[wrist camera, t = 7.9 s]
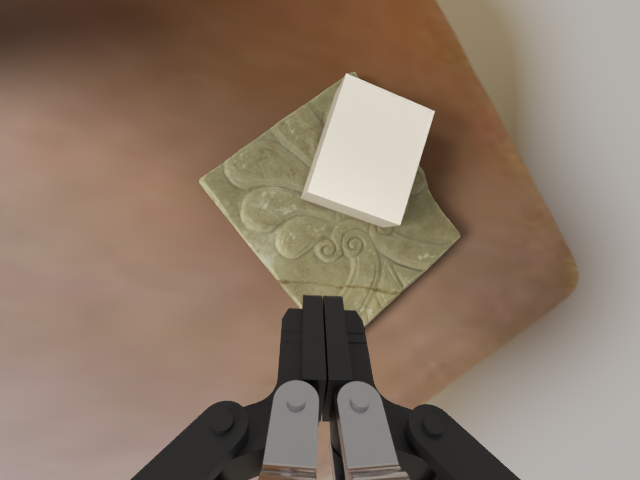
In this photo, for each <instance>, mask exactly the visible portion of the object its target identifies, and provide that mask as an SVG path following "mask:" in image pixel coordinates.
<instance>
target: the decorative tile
mask: <svg viewBox="0 0 640 480" xmlns="http://www.w3.org/2000/svg"><path fill="white" fill-rule="evenodd" d="M349 75H352V76H354V77H356V78H358V76H357V74H356V73H355V72H351V73H350V74H349ZM343 78H344V77H343ZM343 78H342V79H341V80H339V81H338V82H336V83H335V84H333V85H332V86H330V87H329V88H328V89H326V90H325V91H323V92H322V93H320V94H319V95H318V96H316V97H315V98H314V99H312V100H311V101H309V102H308V103H306V104H304V105H303V106H301V107H300V108H298V109H297V110H295V111H294V112H292V113H291V114H289V115H288V116H286V117H285V118H283V119H282V120H280V121H279V122H278V123H276V124H275V125H274V126H273V127H271V128H270V129H269V130H267V131H266V132H265V133H263V134H262V135H261V136H259V137H258V138H257V139H255V140H254V141H252V142H250V143H249V144H247V145H246V146H245V147H243V148H242V149H240V150H239V151H238V152H236V153H235V154H234V155H233V156H231V157H230V158H229V159H227V160H226V161H225V162H223V163H222V164H221V165H219V166H218V167H216V168H215V169H213V170H211V171H210V172H209V173H208V174H206V175H204V176H203V177H202V178H201V179H200V181H199V183H200V184H201V186H202V187H203V189H204V190H205V191H206V192H207V194H208V195H209V196H210V197H211V199H212V200H213V201H214V202H215V204H216V205H217V206H218V207H219V209H220V210H221V211H222V212H223V214H224V215H225V216H226V217H227V219H228V220H229V221H230V222H231V224H232V225H233V226H234V227H235V229H236V230H237V231H238V232H239V234H240V235H241V236H242V238H243V239H244V240H245V241H246V242H247V244H248V245H249V246H250V247H251V249H252V250H253V251H254V252H255V254H256V255H257V256H258V257H259V259H260V260H261V261H262V262H263V264H264V265H265V266H266V267H267V268H268V270H269V271H270V272H271V273H272V275H273V276H274V277H275V278H276V279H277V281H278V282H279V284H280V285H281V286H282V287H283V289H284V290H285V291H286V292H287V293H288V295H289V296H290V297H291V298H292V299H293V301H294V302H295V303H296V304H297V306H298V307H299V308H300V309H302V301H303V295H321V296H322V299H323V295H324V296H342V297H343V304H344V310H356V312H357V313H358V314H359V316H360V317H361V319H362V320H363V324H364V327H365V326H366V325H368V324H369V323H370V322H371V321H372V320H373V319H374V318H375V317H376V316H377V315H378V314H379V313H380V312H381V311H382V310H383V309H384V308H386V307H387V306H388V305H389V304H390V303H391V302H392V301H393V300H394V299H396V298H397V297H398V296H399V295H400V293H401V292H403V291H404V290H405V289H406V288H407V287H408V286H410V285H411V284H412V283H413V282H414V281H415V280H416V279H418V278H419V277H420V276H421V275H422V274H423V273H424V272H425V271H426V270H427V269H428V268H429V267H431V266H432V265H433V264H434V263H435V262H436V261H437V260H438V259H439V258H440V257H441V256H442V255H443V254H444V253H445V252H446V251H447V250H448V249H449V248H450V247H451V246H452V245H453V244H454V243H455V242H456V241H457V240H458V239H459V238H460V233H459V232H458V231H457V229H456V228H455V227H454V225H453V224H452V223H451V222H450V220H449V219H448V218H447V217H446V216H445V215H444V213H443V212H442V211H441V210H440V208H439V206H438V204H437V203H436V201H435V200H434V199H433V197H432V195H431V193H430V191H429V190H428V184H427V181H426V179H425V173H424V171H423V169H422V168H421V167H420V166H419V165H418V169H417V172H416V175H415V179H414V182H413V185H412V188H411V192H410V195H409V198H408V202H407V205H406V208H405V211H404V215H403V218H402V221H401V225H399V226H392V227H385V228H381V227H379V226H376V225H373V224H370V223H367V222H365V221H362V220H359V219H356V218H353V217H350V216H348V215H345V214H342V213H339V212H336V211H333V210H331V209H328V208H325V207H322V206H319V205H316V204H314V203H311V202H308V201H305V200H302V199H300V198H301V195H302V192H303V189H304V186H305V183H306V180H307V177H308V174H309V171H310V168H311V165H312V162H313V159H314V156H315V153H316V150H317V147H318V144H319V141H320V138H321V135H322V132H323V129H324V125H325V122H326V119H327V116H328V113H329V110H330V107H331V104H332V101H333V98H334V95H335V93H336V91H337V89H338V87H339V86H340V84H341V82H342V80H343Z"/></svg>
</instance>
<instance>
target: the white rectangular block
mask: <svg viewBox="0 0 640 480" xmlns="http://www.w3.org/2000/svg"><path fill="white" fill-rule="evenodd" d="M434 113H435V111H433V110H431V109H429V108H426V107H424V106H422V105H419V104H417V103H415V102H412V101H410V100H408V99H405V98H403V97H401V96H398V95H396V94H394V93H391V92H389V91H387V90H384V89H382V88H380V87H377V86H375V85H373V84H370V83H368V82H366V81H363V80H361V79H359V78H356V77H354V76H352V75H349V74H347V73H346V74H345V76H344V78H343V80H342V82H341V84H340V86H339V87H338V89H337V91H336V93H335V95H334V98H333V101H332V104H331V107H330V110H329V113H328V116H327V119H326V122H325V125H324V129H323V132H322V135H321V138H320V141H319V144H318V147H317V150H316V153H315V156H314V159H313V162H312V165H311V168H310V171H309V174H308V177H307V180H306V183H305V186H304V189H303V192H302V195H301V198H300V199H302V200H305V201H308V202H311V203H314V204H316V205H319V206H322V207H325V208H328V209H331V210H333V211H336V212H339V213H342V214H345V215H348V216H350V217H353V218H356V219H359V220H362V221H365V222H367V223H370V224H373V225H376V226H379V227H381V228H385V227H392V226H399V225H401V221H402V218H403V215H404V211H405V208H406V205H407V202H408V198H409V195H410V192H411V188H412V185H413V182H414V179H415V175H416V172H417V169H418V165H419V162H420V159H421V156H422V152H423V149H424V146H425V142H426V139H427V136H428V133H429V129H430V126H431V123H432V119H433V116H434Z"/></svg>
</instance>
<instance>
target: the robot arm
mask: <svg viewBox="0 0 640 480" xmlns="http://www.w3.org/2000/svg"><path fill="white" fill-rule="evenodd" d="M321 415H322V421H330V440H329V450H330V459H331V467H332V475H333V480H520V479H519V478H518V477H517V476H516V475H515V474H513V473H512V472H511V471H510V470H509V469H508V468H507V467H506V466H504V465H503V464H502V463H501V462H500V461H499V460H498V459H497V458H496V457H495V456H494V455H492V454H491V453H490V452H489V451H488V450H487V449H486V448H485V447H483V446H482V445H481V444H480V443H479V442H478V441H477V440H476V439H475V438H474V437H472V436H471V435H470V434H469V433H468V432H467V431H466V430H465V429H464V428H462V427H461V426H460V425H459V424H458V423H457V422H456V421H455V420H454V419H452V418H451V417H450V416H449V415H448V414H447V413H446V412H445V411H443V410H442V409H440V408H438V407H436V406H433V405H428V404H423V405H419V406H417V407H416V408H414V409H413V410H411V409H408V408H405V407H402V406H399V405H396V404H394V403H391V402H390V401H388V400H386V399H385V398H384V397H383V396H382V395H381V394H380V393H379V392H378V390H377V389H376V387H375V384H374V381H373V375H372V370H371V364H370V358H369V352H368V347H367V341H366V335H365V330H364V324H363V320H362V319H361V317H360V316H359V314H358V313H357V312H356V310H344V304H343V297H342V296H324V295H323V299H322V296H321V295H303V301H302V309H291V308H289V309H288V310H287V312H286V313H285V315H284V317H283V318H282V329H281V343H280V356H279V369H278V380H277V384H276V387H275V389H274V390H273V392H272V393H271V394H270V395H269V396H268V397H267V398H265V399H264V400H262V401H260V402H257V403H255V404H251V405H248V406H245V407H242V406H241V405H240V404H238V403H236V402H233V401H221V402H218V403H215V404H213V405H212V406H210V407H209V408H207V409H206V410H205V411H204V412H203V413H202V414H201V415H200V416H199V417H198V418H197V419H196V420H194V421H193V422H192V423H191V424H190V425H189V426H188V427H187V428H186V429H185V430H184V431H183V432H181V433H180V434H179V435H178V436H177V437H176V438H175V439H174V440H173V441H172V442H171V443H170V444H169V445H167V446H166V447H165V448H164V449H163V450H162V451H161V452H160V453H159V454H158V455H157V456H156V457H154V458H153V459H152V460H151V461H150V462H149V463H148V464H147V465H146V466H145V467H144V468H143V469H142V470H140V471H139V472H138V473H137V474H136V475H135V476H134V477H133V478H132V479H131V480H248V479H251V478H254V477H256V476H259V478H258V480H316V457H317V436H318V424H319V421H321Z"/></svg>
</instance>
